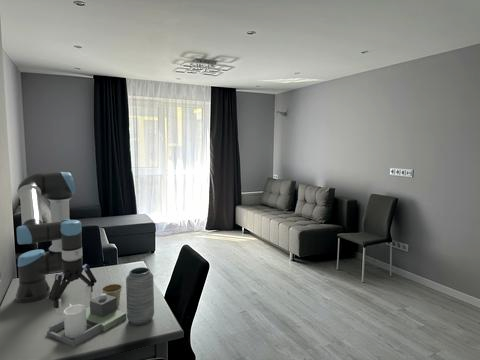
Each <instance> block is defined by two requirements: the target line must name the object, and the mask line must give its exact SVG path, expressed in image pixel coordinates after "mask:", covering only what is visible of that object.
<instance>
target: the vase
mask: <svg viewBox="0 0 480 360" xmlns="http://www.w3.org/2000/svg"><path fill="white" fill-rule="evenodd" d="M125 285H126V286H125V287H126V289H125V290H126V293H125V294H126V319H127V320H128V321H129V322H130V323H131V324H132V325H134V326H142V325H147V324H149V322H150V321H151V320H152V319H153V317H154V316H155V295H154V294H155V293H154V292H155V290H154V289H155V288H154V287H155V286H154V274H153V272H151V269H150V268H149V267H146V266H145V267H135V268H133V269H130V270H129V272H128V275H127V276H126V277H125Z"/></svg>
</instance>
